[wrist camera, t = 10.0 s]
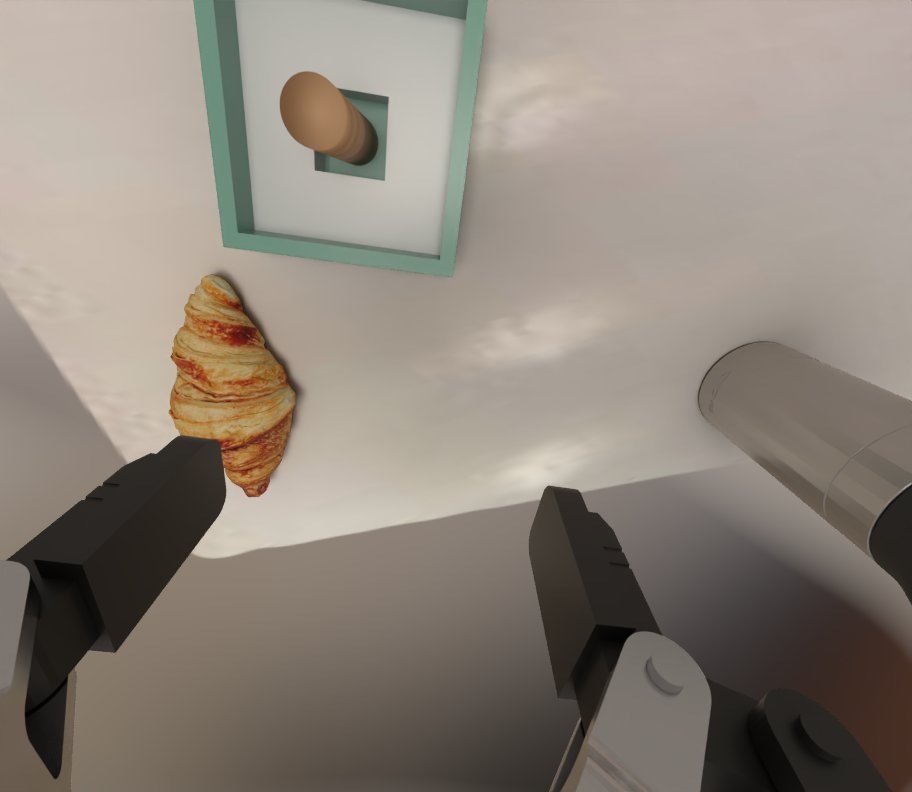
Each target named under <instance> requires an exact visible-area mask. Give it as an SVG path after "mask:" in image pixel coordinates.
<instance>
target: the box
mask: <svg viewBox="0 0 912 792" xmlns="http://www.w3.org/2000/svg"><path fill="white" fill-rule="evenodd" d="M193 1H194V9H195V17H196V25H197V33H198V42H199V50H200V58H201V66H202V75H203V83H204V91H205V99H206V107H207V116H208V124H209V132H210V140H211V148H212V157H213V165H214V173H215V181H216V189H217V198H218V206H219V214H220V222H221V230H222V239H223V247H228V248H235V249H243V250H250V251H258V252H265V253H273V254H280V255H288V256H295V257H303V258H310V259H318V260H325V261H333V262H340V263H348V264H355V265H363V266H370V267H378V268H385V269H393V270H400V271H408V272H415V273H423V274H430V275H438V276H445V277H453V271H454V263H455V255H456V247H457V239H458V231H459V223H460V215H461V208H462V200H463V192H464V184H465V176H466V168H467V160H468V152H469V144H470V136H471V128H472V120H473V112H474V104H475V96H476V88H477V80H478V72H479V64H480V57H481V49H482V41H483V33H484V25H485V17H486V9H487V1H488V0H193ZM304 71H310V72H315V73H318V74H320V75H322V76H324V77H325V78H327V79H328V80H329V81H330V82H331V83H332V84H333V85H334V86H335V87H336V88H337V89H338V90H339V91H340V92H341V93H342V94H343V95H344V96H345V97H346V98H347V99H348V100H349V101H350V102H351V103H352V104H353V105H354V106H355V107H356V108H357V109H358V110H359V111H360V112H361V113H362V114H363V115H364V116H365V117H366V118H367V119H368V120H369V121H370V122H371V124H372V125H373V127H374V128H375V130H376V133H377V136H378V149H377V153H376V155H375V157H374V158H373V159H372V160H371V161H370V162H369V163H367V164H365V165H361V166H357V165H353V164H350V163H347V162H344V161H342V160H339V159H336V158H334V157H331V156H328V155H326V154H323V153H320V152H318V151H315V150H312V149H310V148H307V147H305V146H303V145H301V144H300V143H298V142H297V141H296V140H295V139H294V138H293V137H292V136H291V135H290V134H289V132H288V131H287V129H286V127H285V125H284V123H283V120H282V117H281V113H280V95H281V91H282V89H283V87H284V85H285V83H286V82H287V80H288V79H289V78H290V77H292V76H293V75H295V74H297V73H299V72H304Z"/></svg>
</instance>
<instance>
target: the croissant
mask: <svg viewBox="0 0 912 792" xmlns="http://www.w3.org/2000/svg"><path fill="white" fill-rule="evenodd" d="M184 309H185V312H186V314H187V315H186V317H185V323H184V326H183V327H181V328H180V329H179V331H178V332H177V335H176V336H175V338H174V346H173V347H172V349H173V353H172V355H173V356H172V355H171V358H172V360H173V361H174V362H175V364H176V365H177V371H178V372H177V378H176V382H175V384H174V386H173V389H172V392H171V397H170V405H171V410H169V412H168V413H169V414H170V415H171V417H172V418H173V420H174V423H175V427H176V428H177V430H178V431H179V433H180V435H186V436H193V437H200V438H208V439H215V440H217V441H218V442H219V443H220V446H221V452H222V460H223V468H226V469H225V471H226V475H227V477H228V478H229V479H230V480H231V481H232V482H233V483H234V484H236V485H238V486H240V487H241V488H242V489H243V490H244V492H245V493H246V495H247V496H248V497H259V496H260V495H262V494H263V493H264V492H265V491H266V490H267V487H268V485H269V482H270V474H271V473H272V472H273V471H274V470H275V469H276V468H277V467H278V465H279V464H280V462H281V460H282V455H283V451H284V448H285V446H286V442H287V437H288V435H289V434H290V431H291V426H292V422H291V420H292V412H293V410H294V408H295V405H296V399H295V392H294V391H293V390H292V389H291V387H290V386H289V384H288V377H287V375H286V373H285V371H284V368H283V367H282V365H279V364H278V362H277V361H276V360H275V359H274V357H273V355H272V354H270V351H268V350H267V349H265V347H264V344H265V340H264V338H263V337H262V335H261V334H260V332H259V329H258V328H256V327H255V326H254V325H253V324H252V323H251V322H250V320H249V318H248V316H246V315H244V314H243V308H242V303H241V301H240V299H239V298H238V297H237V295H236V293H235V292H234V290H233V289H232V287H231V286H230V285H229V284H228V283H227V282H226V281H225V280H224V279H223V278H220V277H218V276H216V275H212V274H211V275H208V276H205V277H203V278H202V281H201V284H200V285H199V286H197V287H196V290H195V294H190V297H189V302H188V303H187V304H186V306H185V308H184Z"/></svg>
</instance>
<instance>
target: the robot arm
mask: <svg viewBox="0 0 912 792" xmlns="http://www.w3.org/2000/svg"><path fill="white" fill-rule="evenodd" d="M699 406H700V410H701V412H702V414H703V416H704V417H705V418H706V419H707V420H708V421H709V422H710V423H711V424H712V425H713V426H714V427H716V428H717V429H718V430H719V431H720V432H722V433H723V434H724V435H725V436H726V437H727V438H729V439H730V440H731V441H732V442H733V443H734V444H735V445H737V446H738V447H739V448H740V449H741V450H743V451H744V452H745V453H746V454H747V455H749V456H750V457H751V458H752V459H753V460H754V461H756V462H757V463H758V464H759V465H760V466H762V467H763V468H764V469H765V470H767V471H768V472H769V473H770V474H771V475H772V476H774V477H775V478H776V479H777V480H778V481H779V482H781V483H782V484H783V485H784V486H786V487H787V488H788V489H789V490H790V491H791V492H793V493H794V494H795V495H796V496H797V497H799V498H800V499H801V500H802V501H803V502H804V503H806V504H807V505H808V506H809V507H811V508H812V509H813V510H814V511H815V512H816V513H817V514H819V515H820V516H821V517H823V518H824V519H825V520H826V521H827V522H828V523H829V524H831V525H832V526H833V527H834V528H835V529H837V530H838V531H839V532H840V533H842V534H843V535H844V536H845V537H846V538H848V539H849V540H850V541H851V542H853V544H855V545H856V546H857V547H858V548H860V549H861V550H862V551H863V552H864V553H865V554H866V555H868V556H869V557H870V558H871V559H873V560H874V561H875V562H876V563H877V564H878V565H879V566H880V567H881V568H883V569H884V570H885V571H886V572H887V573H888V574H890V575H891V576H892V577H893V578H894V579H895V580H896V581H897V582H898V583H899V585H900V586H901V587H902V589H903V591H904V592H905V594H906V596H907V597H908V599H909V601H910V603H911V605H912V401H910V400H908V399H905V398H903V397H901V396H898V395H896V394H894V393H891V392H889V391H887V390H885V389H882V388H880V387H878V386H875V385H873V384H871V383H868V382H866V381H864V380H861V379H859V378H857V377H854V376H852V375H850V374H848V373H845V372H843V371H841V370H838V369H836V368H834V367H831V366H829V365H827V364H824V363H822V362H820V361H818V360H816V359H813V358H811V357H809V356H806V355H804V354H802V353H799V352H797V351H795V350H792V349H790V348H787V347H785V346H783V345H780V344H778V343H772V342H756V343H752V344H749V345H745V346H743V347H740V348H738V349H736V350H734V351H732V352H731V353H729V354H728V355H726V356H724V357H723V358H722V359H721V360H720V361H719V362H718V363H716V364H715V365H714V367H713V368H712V369H711V370H710V371H709V373H708V374H707V376H706V378H705V379H704V381H703V383H702V386H701V389H700V393H699ZM225 498H226V484H225V476H224V468H223V460H222V452H221V446H220V443H219V442H218V441H217V440H215V439H208V438H200V437H193V436H186V435H181V436H178V437H176V438H175V439H174V440H172V441H171V442H170V443H169V444H168V445H166V446H165V447H164V448H163V449H162V450H161V451H159V452H158V453H157V454H153V453H150V454H148V455H146V456H144V457H142V458H140V459H137V460H135V461H133V462H131V463H129V464H127V465H125V466H123V467H122V468H121V469H119V470H118V471H117V472H116V473H115V474H113V475H112V476H111V477H110V478H108V479H107V480H106V481H105V482H103V485H102V486H98V487H97V488H96V489H95V490H93V491H92V492H91V493H90V494H88V495H87V496H86V499H85V500H81V501H80V502H78V503H77V504H76V505H75V506H73V507H72V508H71V509H70V510H69V511H67V512H66V513H65V514H64V515H62V516H61V517H60V518H58V519H57V520H56V521H55V522H53V523H52V524H51V525H50V526H49V527H47V528H46V529H45V530H44V531H42V532H41V533H40V534H39V535H37V536H36V537H35V538H34V539H33V540H31V541H30V542H29V543H27V544H26V545H25V546H24V547H22V548H21V549H20V550H19V551H18V552H16V553H15V554H14V555H12V556H11V557H10V558H8V559H7V560H6V561H0V792H71V771H72V754H73V736H74V718H75V701H76V683H77V674H76V670H75V668H74V667H75V666H76V665H77V664H78V662H79V661H80V660H81V659H82V658H83V656H84V655H85V654H86V653H87V651H88V650H93V651H103V652H113V653H115V652H116V651H117V650H118V649H119V647H120V646H121V645H122V643H123V642H124V641H125V639H126V638H127V637H128V635H129V634H130V633H131V631H132V630H133V629H134V627H135V626H136V625H137V623H138V622H139V621H140V619H141V618H142V617H143V615H144V614H145V613H146V612H147V610H148V609H149V608H150V606H151V605H152V604H153V602H154V601H155V600H156V598H157V597H158V596H159V594H160V593H161V592H162V590H163V589H164V588H165V586H166V585H167V583H168V582H169V581H170V580H171V578H172V577H173V576H174V574H175V573H176V572H177V570H178V569H179V568H180V566H181V565H182V564H183V562H184V561H185V560H186V558H187V557H188V556H189V554H190V553H191V552H192V550H193V549H194V548H195V546H196V545H197V544H198V542H199V541H200V540H201V538H202V537H203V536H204V534H205V533H206V532H207V530H208V529H209V528H210V526H211V525H212V524H213V522H214V521H215V520H216V518H217V517H218V516H219V514H220V512H221V510H222V508H223V505H224V502H225ZM529 555H530V560H531V565H532V570H533V575H534V580H535V585H536V590H537V595H538V600H539V605H540V610H541V615H542V620H543V625H544V630H545V635H546V640H547V645H548V650H549V655H550V660H551V665H552V670H553V675H554V680H555V685H556V690H557V695H558V698H564V699H574V700H577V702H578V707H579V711H580V715H581V718H580V719H579V721H578V723H577V725H576V728H575V730H574V733H573V735H572V738H571V740H570V742H569V745H568V748H567V750H566V752H565V755H564V757H563V760H562V762H561V764H560V767H559V769H558V772H557V774H556V776H555V779H554V781H553V784H552V786H551V789H550V791H549V792H892V791H891V789H890V788H889V786H888V785H887V783H886V782H885V780H884V779H883V778H882V776H881V775H880V773H879V772H878V770H877V769H876V767H875V766H874V765H873V763H872V762H871V760H870V759H869V757H868V756H867V754H866V753H865V752H864V750H863V749H862V747H861V746H860V745H859V743H858V742H857V740H856V739H855V738H854V737H853V735H852V734H851V733H850V732H849V731H848V730H847V728H846V727H845V726H844V725H843V724H841V722H840V721H838V719H837V718H835V717H834V716H833V715H832V714H831V713H830V712H829V711H827V710H826V709H825V708H823V707H822V706H820V705H819V704H818V703H816V702H815V701H813V700H812V699H810V698H808V697H806V696H804V695H803V694H800V693H798V692H796V691H792V690H789V689H781V688H778V689H773V690H771V691H770V692H769V693H768V694H767V695H766V696H765V697H764V698H763V699H762V700H761V701H760V702H759V701H757V700H755V699H753V698H750V697H748V696H745V695H743V694H741V693H739V692H736V691H734V690H731V689H729V688H727V687H725V686H722V685H720V684H718V683H715V682H713V681H711V680H709V679H707V678H705V677H704V674H703V673H702V671H701V669H700V668H699V666H698V665H697V664H696V662H695V661H694V660H693V659H692V658H691V657H690V655H689V654H687V652H686V651H684V650H683V649H682V648H681V647H680V646H678V645H677V644H676V643H674V642H673V641H671V640H669V639H668V638H666V637H664V636H663V635H662V633H661V632H660V630H659V628H658V625H657V623H656V621H655V619H654V617H653V615H652V613H651V611H650V608H649V606H648V604H647V602H646V600H645V598H644V595H643V593H642V591H641V589H640V587H639V585H638V582H637V580H636V578H635V576H634V574H633V572H632V570H631V569H629V563H628V561H627V559H626V557H625V555H624V553H622V548H621V546H620V544H619V542H618V539H617V538H616V535H615V533H614V531H613V530H612V528H611V527H610V526H609V525H608V524H607V523H606V522H605V521H604V520H603V519H602V518H601V516H600V515H599V514H598V513H593V512H588V510H587V508H586V505H585V503H584V500H583V498H582V495H581V493H580V492H579V490H577V489H570V488H562V487H555V486H547V487H546V488H545V490H544V492H543V495H542V498H541V501H540V504H539V507H538V510H537V513H536V516H535V519H534V522H533V525H532V528H531V531H530V536H529Z"/></svg>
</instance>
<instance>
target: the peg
mask: <svg viewBox="0 0 912 792" xmlns="http://www.w3.org/2000/svg"><path fill="white" fill-rule="evenodd" d="M280 113H281V117H282V120H283V123H284V125H285V127H286V129H287V131H288V132H289V134H290V135H291V136H292V137H293V138H294V139H295V140H296V141H297V142H298V143H300V144H301V145H303V146H305V147H307V148H310V149H312V150H315V151H318V152H320V153H323V154H326V155H328V156H331V157H334V158H336V159H339V160H342V161H344V162H347V163H350V164H353V165H357V166H361V165H365V164H367V163H369V162H370V161H371V160H372V159H373V158H374V157H375V155H376V153H377V149H378V136H377V133H376V130H375V128H374V127H373V125H372V124H371V122H370V121H369V120H368V119H367V118H366V117H365V116H364V115H363V114H362V113H361V112H360V111H359V110H358V109H357V108H356V107H355V106H354V105H353V104H352V103H351V102H350V101H349V100H348V99H347V98H346V97H345V96H344V95H343V94H342V93H341V92H340V91H339V90H338V89H337V88H336V87H335V86H334V85H333V84H332V83H331V82H330V81H329V80H328V79H327V78H325V77H324V76H322V75H320V74H318V73H315V72H310V71H304V72H299V73H297V74H295V75H293V76H292V77H290V78H289V79H288V80H287V82H286V83H285V85H284V87H283V89H282V91H281V95H280Z"/></svg>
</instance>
